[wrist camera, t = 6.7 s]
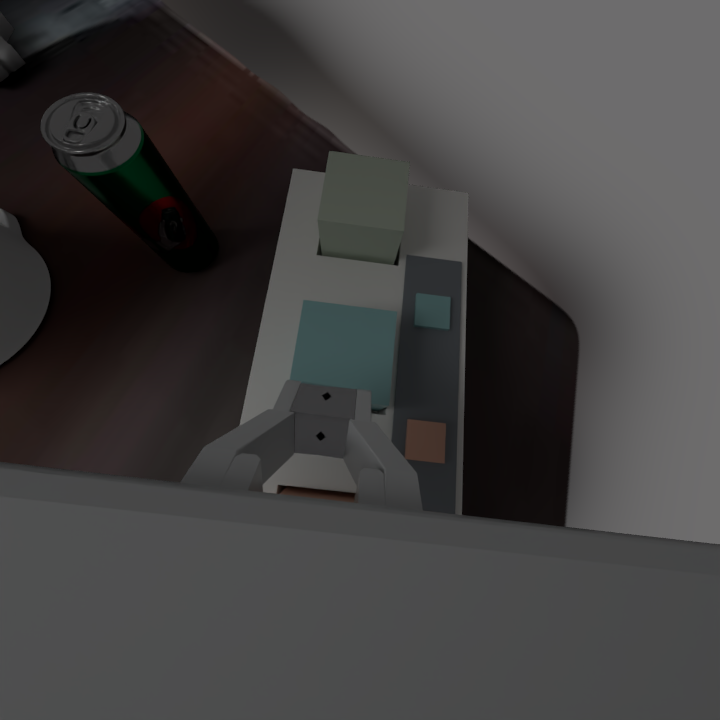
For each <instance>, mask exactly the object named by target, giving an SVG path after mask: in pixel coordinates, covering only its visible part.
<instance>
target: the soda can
mask: <svg viewBox="0 0 720 720" xmlns="http://www.w3.org/2000/svg"><path fill="white" fill-rule="evenodd" d="M40 129H41V133H42V136H43V138H44V139H45V141H46V142H47V143H48V144H49V145H50V146H51V147H52V151H53V154H54V156H55V158H56V160H57V161H58V162H59V164H60V165H62V166H63V167H64V168H65V169H66V170H67V171H68V172H69V173H70V174H71V175H72V176H73V177H74V178H76V179H77V180H78V181H79V182H80V183H81V184H82V185H83V186H84V187H85V188H86V189H87V190H88V191H90V192H91V193H92V194H93V195H94V196H95V197H96V198H97V199H98V200H99V201H100V202H101V203H103V204H104V205H105V206H106V207H107V208H108V209H109V210H110V211H111V212H112V213H113V214H114V215H115V216H117V217H118V218H119V219H120V220H121V221H122V222H123V223H124V224H125V225H126V226H127V227H128V228H130V229H131V230H132V231H133V232H134V233H135V234H136V235H137V236H138V237H139V238H140V239H141V240H142V241H144V242H145V243H146V244H147V245H148V246H149V247H150V248H151V249H152V250H153V251H154V252H155V253H157V254H158V255H159V256H160V257H161V258H162V259H163V260H164V261H165V262H166V263H167V264H168V265H169V266H171V267H172V268H173V269H175V270H177V271H181V272H187V273H188V272H197V271H200V270H203V269H205V268H207V267H208V266H209V265H210V264H211V263H212V262H213V261H214V260H215V258H216V256H217V254H218V249H219V245H218V240H217V238H216V236H215V235H214V233H213V232H212V230H211V229H210V227H209V226H208V224H207V223H206V221H205V220H204V218H203V217H202V215H201V214H200V212H199V211H198V209H197V208H196V206H195V205H194V203H193V202H192V201H191V199H190V198H189V196H188V195H187V193H186V192H185V190H184V189H183V187H182V186H181V184H180V183H179V181H178V180H177V178H176V177H175V175H174V174H173V172H172V171H171V169H170V168H169V166H168V165H167V163H166V162H165V160H164V159H163V157H162V156H161V154H160V153H159V151H158V150H157V148H156V147H155V146H154V144H153V143H152V141H151V140H150V138H149V137H148V135H147V134H146V132H145V131H144V129H143V128H142V126H141V125H140V123H139V122H138V121H137V120H136V119H135V118H134V117H133V116H131V115H130V114H128V113H126V112H125V111H123V110H122V108H121V107H120V106H119V104H117V103H116V102H115V101H114V100H113V99H111V98H109V97H107V96H105V95H102V94H98V93H77V94H73V95H69V96H67V97H64V98H62V99H60V100H58V101H57V102H55V103H54V104H53V105H51V106H50V107H49V108H48V109H47V111H46V112H45V113H44V115H43V117H42V120H41V124H40Z"/></svg>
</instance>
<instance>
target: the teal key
mask: <svg viewBox="0 0 720 720" xmlns="http://www.w3.org/2000/svg"><path fill="white" fill-rule="evenodd" d="M396 319H397V311H389V310H381V309H373V308H365V307H357V306H349V305H341V304H333V303H325V302H317V301H309V300H303V306H302V311H301V317H300V323H299V329H298V334H297V340H296V346H295V352H294V357H293V363H292V369H291V375H290V380H295V381H301V382H302V381H303V382H309V383H316V384H323V385H329V386H336V387H344V388H352V389H365V390H371V410H374V411H379V410H381V409H383V408H386V407H388V406H389V401H390V390H391V378H392V366H393V354H394V343H395V331H396Z"/></svg>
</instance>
